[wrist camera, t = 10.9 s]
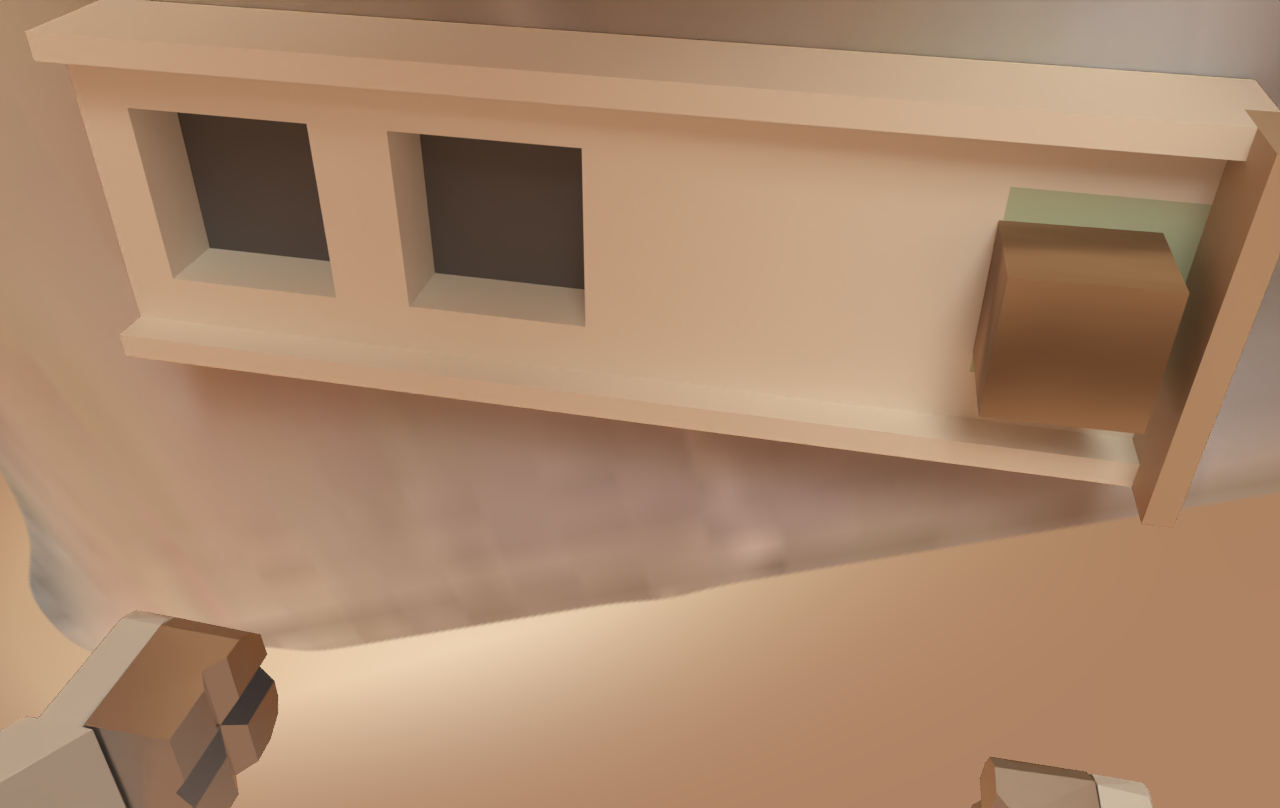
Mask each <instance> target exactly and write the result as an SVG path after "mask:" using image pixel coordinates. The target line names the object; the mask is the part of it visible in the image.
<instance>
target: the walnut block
mask: <svg viewBox="0 0 1280 808" xmlns="http://www.w3.org/2000/svg"><path fill="white" fill-rule="evenodd" d="M1188 296H1189V291H1188V289H1187V286H1186V284H1185V282H1184V279H1183V277H1182V275H1181V273H1180V270H1179V268H1178V266H1177V263H1176V261H1175V259H1174V257H1173V254H1172V252H1171V250H1170V247H1169V245H1168V243H1167V241H1166V238H1165V236H1164V234H1163V233H1159V232H1146V231H1133V230H1120V229H1107V228H1094V227H1081V226H1068V225H1055V224H1042V223H1029V222H1016V221H1003V220H999V222H998V227H997V232H996V237H995V242H994V247H993V252H992V257H991V262H990V267H989V272H988V277H987V282H986V287H985V292H984V297H983V303H982V308H981V313H980V318H979V323H978V328H977V333H976V338H975V343H974V348H973V360H974V371H975V382H976V394H977V405H978V416H979V417H987V418H996V419H1005V420H1014V421H1024V422H1033V423H1042V424H1052V425H1061V426H1070V427H1080V428H1089V429H1098V430H1108V431H1117V432H1126V433H1135V434H1145V430H1146V427H1147V424H1148V421H1149V418H1150V415H1151V412H1152V409H1153V405H1154V402H1155V399H1156V396H1157V393H1158V390H1159V387H1160V384H1161V380H1162V377H1163V374H1164V371H1165V368H1166V365H1167V362H1168V359H1169V356H1170V352H1171V349H1172V346H1173V343H1174V340H1175V337H1176V334H1177V331H1178V327H1179V324H1180V321H1181V318H1182V315H1183V312H1184V309H1185V306H1186V303H1187V299H1188Z"/></svg>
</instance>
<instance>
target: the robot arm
mask: <svg viewBox="0 0 1280 808" xmlns="http://www.w3.org/2000/svg"><path fill="white" fill-rule="evenodd" d="M266 655H267V653H266V650H265V647H264V644H263V641H262V638H261V635H260V634H255V633H251V632H246V631H241V630H236V629H231V628H226V627H221V626H216V625H211V624H206V623H201V622H196V621H191V620H186V619H181V618H176V617H170V616H165V615H159V614H154V613H148V612H143V611H137V610H135V611H133V612H132V613H130V614H128V615H126V616H125V617H123V618H121V619H120V620H119V621H118V623H117V624H116V625H115V626H114V627H113V629H112V630H111V631H110V632H109V633H108V635H107V636H106V637H105V638H104V639H103V641H102V642H101V643H100V644H99V646H98V647H97V648H96V649H95V650H94V652H93V653H92V654H91V655H90V656H89V658H88V659H87V660H86V661H85V663H84V664H83V665H82V666H81V667H80V668H79V670H78V671H77V672H76V673H75V674H74V676H73V677H72V678H71V679H70V680H69V682H68V683H67V684H66V685H65V687H64V688H63V689H62V690H61V691H60V692H59V694H58V695H57V696H56V697H55V698H54V700H53V701H52V702H51V703H50V704H49V706H48V707H47V708H46V709H45V711H44V712H43V713H42V714H41V715H40V716H39V718H34V717H28V716H26V717H24V718H23V719H21V720H19V721H17V722H15V723H13V724H11V725H9V726H7V727H6V728H3V729H2V730H0V808H230V807H231V806H232V804H233V802H234V801H235V799H236V797H237V796H238V788H237V782H236V775H237V774H238V773H240V772H241V771H243V770H245V769H246V768H248V767H249V766H251V765H252V764H254V763H256V762H257V761H258V760H259V758H260V757H261V755H262V753H263V751H264V750H265V748H266V746H267V744H268V743H269V741H270V739H271V735H272V732H273V728H274V725H275V721H276V718H277V715H278V694H277V690H276V686H275V682H274V680H273V679H272V678H271V677H270V676H269V675H268V674H267V673H266V672H265V671H264V670H263V669H261V667H260V665H261V663H262V662H263V660H264V659H265V657H266ZM980 786H981V800H980V801H978V802H977V803H975V804H973V805H972V807H971V808H1153V805H1152V800H1151V796H1150V792H1149V791H1148V789H1147V788H1146V786H1145V785H1144V784H1143V783H1142V782H1137V781H1131V780H1125V779H1119V778H1113V777H1107V776H1101V775H1095V774H1088V773H1087V772H1084V771H1078V770H1071V769H1064V768H1059V767H1052V766H1046V765H1039V764H1033V763H1027V762H1020V761H1013V760H1007V759H1001V758H995V757H989V759H988V760H987V761H986V762H985V765H984V768H983V771H982V774H981V777H980Z"/></svg>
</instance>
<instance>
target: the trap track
mask: <svg viewBox="0 0 1280 808" xmlns="http://www.w3.org/2000/svg"><path fill="white" fill-rule="evenodd" d="M25 33H26V37H27V40H28V43H29V46H30V50H31V53H32V56H33V59H34V61H40V62H52V63H65V64H67V68H68V71H69V75H70V78H71V81H72V85H73V88H74V92H75V95H76V98H77V102H78V105H79V109H80V112H81V116H82V119H83V122H84V126H85V129H86V133H87V136H88V139H89V143H90V146H91V150H92V153H93V156H94V160H95V163H96V167H97V170H98V173H99V177H100V180H101V184H102V187H103V190H104V194H105V197H106V201H107V204H108V207H109V211H110V214H111V218H112V221H113V225H114V228H115V231H116V235H117V238H118V242H119V245H120V248H121V252H122V255H123V259H124V262H125V265H126V269H127V272H128V276H129V279H130V282H131V286H132V289H133V293H134V296H135V299H136V303H137V306H138V310H139V313H140V316H141V317H139V318H138V319H137V320H136V321H135V322H134V323H132V324H131V325H130V326H129V327H128V328H127V329H125V330H124V331H123V332H122V333H121V334H120V335H119V336H120V340H121V343H122V346H123V349H124V352H125V356H130V357H138V358H145V359H153V360H161V361H168V362H176V363H184V364H191V365H199V366H207V367H214V368H222V369H230V370H237V371H245V372H253V373H260V374H268V375H276V376H284V377H291V378H299V379H307V380H314V381H322V382H330V383H337V384H345V385H353V386H360V387H368V388H376V389H383V390H391V391H399V392H406V393H414V394H422V395H429V396H437V397H445V398H452V399H460V400H468V401H475V402H483V403H491V404H498V405H506V406H514V407H521V408H529V409H537V410H544V411H552V412H560V413H567V414H575V415H583V416H590V417H598V418H606V419H613V420H621V421H629V422H637V423H644V424H652V425H660V426H667V427H675V428H683V429H690V430H698V431H706V432H713V433H721V434H729V435H736V436H744V437H752V438H759V439H767V440H775V441H782V442H790V443H798V444H805V445H813V446H821V447H828V448H836V449H844V450H851V451H859V452H867V453H874V454H882V455H890V456H897V457H905V458H913V459H920V460H928V461H936V462H943V463H951V464H959V465H967V466H974V467H982V468H990V469H997V470H1005V471H1013V472H1020V473H1028V474H1036V475H1043V476H1051V477H1059V478H1066V479H1074V480H1082V481H1089V482H1097V483H1105V484H1112V485H1120V486H1128V487H1132V490H1133V494H1134V498H1135V501H1136V505H1137V509H1138V513H1139V516H1140V520H1141V523H1142V524H1145V525H1152V526H1160V527H1167V528H1174V525H1175V522H1176V520H1177V517H1178V515H1179V512H1180V510H1181V507H1182V504H1183V502H1184V499H1185V497H1186V494H1187V492H1188V489H1189V486H1190V484H1191V481H1192V479H1193V476H1194V474H1195V471H1196V469H1197V466H1198V463H1199V461H1200V458H1201V456H1202V453H1203V451H1204V448H1205V445H1206V443H1207V440H1208V438H1209V435H1210V433H1211V430H1212V428H1213V425H1214V422H1215V420H1216V417H1217V415H1218V412H1219V410H1220V407H1221V404H1222V402H1223V399H1224V397H1225V394H1226V392H1227V389H1228V387H1229V384H1230V381H1231V379H1232V376H1233V374H1234V371H1235V369H1236V366H1237V363H1238V361H1239V358H1240V356H1241V353H1242V351H1243V348H1244V346H1245V343H1246V340H1247V338H1248V335H1249V333H1250V330H1251V328H1252V325H1253V322H1254V320H1255V317H1256V315H1257V312H1258V310H1259V307H1260V304H1261V302H1262V299H1263V297H1264V294H1265V292H1266V289H1267V287H1268V284H1269V281H1270V279H1271V276H1272V274H1273V271H1274V269H1275V266H1276V263H1277V261H1278V258H1279V256H1280V110H1279V109H1278V108H1277V106H1276V105H1275V104H1274V103H1273V102H1272V100H1271V99H1270V98H1269V97H1268V95H1267V94H1266V93H1265V92H1264V90H1263V89H1262V88H1261V87H1260V86H1259V84H1258V83H1257V82H1256V81H1255V80H1252V79H1238V78H1224V77H1210V76H1196V75H1182V74H1168V73H1154V72H1140V71H1126V70H1112V69H1098V68H1084V67H1070V66H1056V65H1042V64H1028V63H1014V62H1000V61H986V60H972V59H958V58H944V57H930V56H916V55H902V54H888V53H874V52H860V51H846V50H832V49H818V48H804V47H790V46H776V45H762V44H748V43H733V42H719V41H705V40H691V39H677V38H663V37H649V36H635V35H621V34H607V33H593V32H579V31H565V30H551V29H537V28H523V27H509V26H495V25H481V24H467V23H453V22H439V21H425V20H411V19H397V18H383V17H369V16H355V15H341V14H327V13H313V12H299V11H285V10H271V9H257V8H243V7H229V6H215V5H201V4H187V3H173V2H159V1H145V0H98V1H96V2H93V3H91V4H89V5H86V6H84V7H82V8H79V9H77V10H74V11H72V12H70V13H67V14H65V15H63V16H60V17H58V18H55V19H53V20H51V21H48V22H46V23H44V24H41V25H39V26H36V27H34V28H32V29H29V30H27V31H25ZM999 220H1003V221H1016V222H1029V223H1042V224H1055V225H1068V226H1081V227H1094V228H1107V229H1120V230H1133V231H1146V232H1159V233H1163V234H1164V236H1165V238H1166V241H1167V243H1168V245H1169V247H1170V250H1171V252H1172V254H1173V257H1174V259H1175V261H1176V263H1177V266H1178V268H1179V270H1180V273H1181V275H1182V277H1183V279H1184V282H1185V284H1186V286H1187V289H1188V291H1189V296H1188V299H1187V303H1186V306H1185V309H1184V312H1183V315H1182V318H1181V321H1180V324H1179V327H1178V331H1177V334H1176V337H1175V340H1174V343H1173V346H1172V349H1171V352H1170V356H1169V359H1168V362H1167V365H1166V368H1165V371H1164V374H1163V377H1162V380H1161V384H1160V387H1159V390H1158V393H1157V396H1156V399H1155V402H1154V405H1153V409H1152V412H1151V415H1150V418H1149V421H1148V424H1147V427H1146V430H1145V434H1135V433H1126V432H1117V431H1108V430H1098V429H1089V428H1080V427H1070V426H1061V425H1052V424H1042V423H1033V422H1024V421H1014V420H1005V419H996V418H987V417H979V416H978V405H977V394H976V382H975V371H974V360H973V348H974V343H975V338H976V333H977V328H978V323H979V318H980V313H981V308H982V303H983V297H984V292H985V287H986V282H987V277H988V272H989V267H990V262H991V257H992V252H993V247H994V242H995V237H996V232H997V227H998V222H999Z"/></svg>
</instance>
